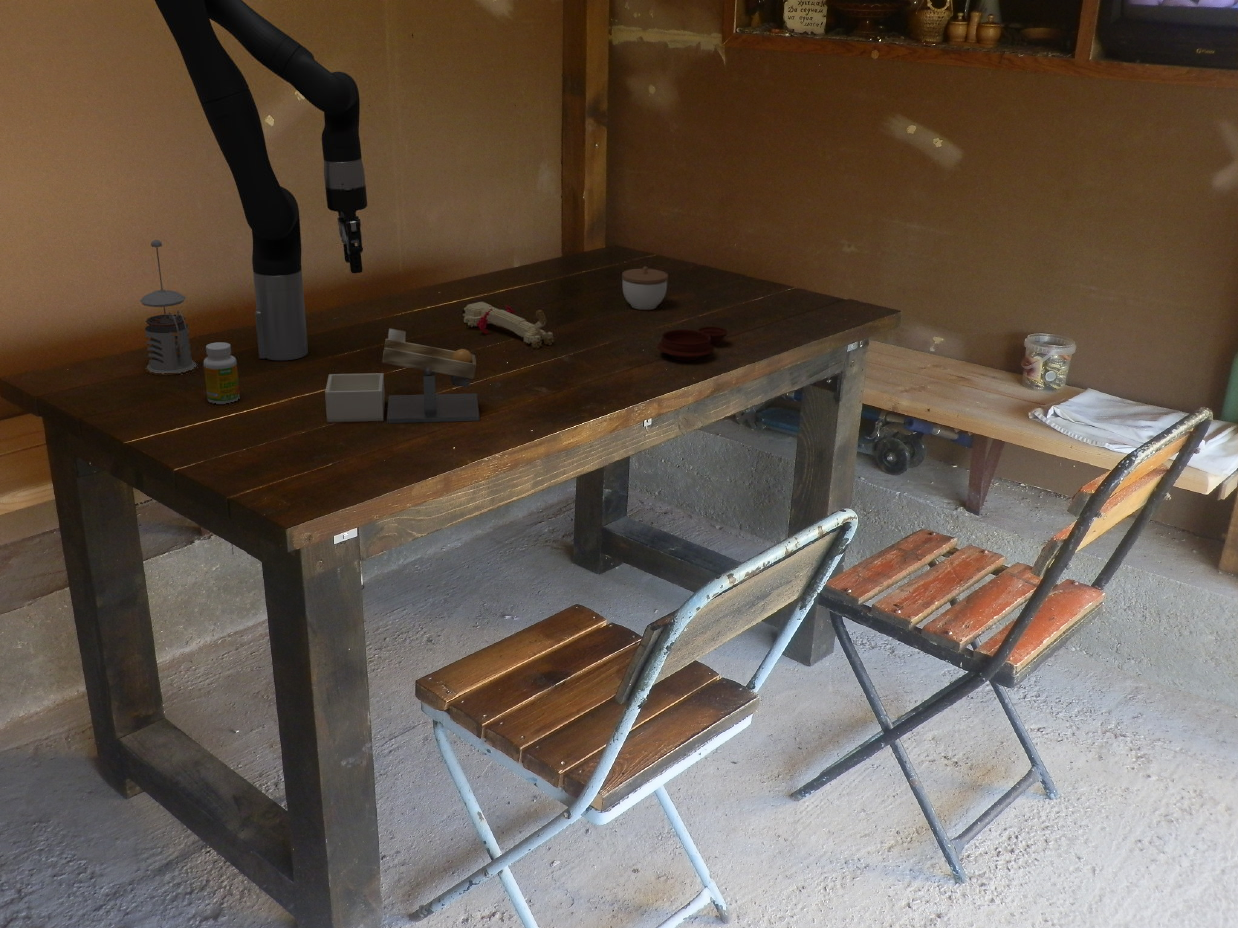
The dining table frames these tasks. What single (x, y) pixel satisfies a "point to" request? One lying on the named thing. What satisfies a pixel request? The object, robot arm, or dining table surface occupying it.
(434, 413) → the stand
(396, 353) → the chute
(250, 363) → the dining table surface
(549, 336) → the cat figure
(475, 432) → the dining table surface
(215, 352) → the supplement bottle
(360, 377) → the open grey tray box
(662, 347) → the pottery
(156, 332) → the french press
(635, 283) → the lidded jar
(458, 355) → the ball
